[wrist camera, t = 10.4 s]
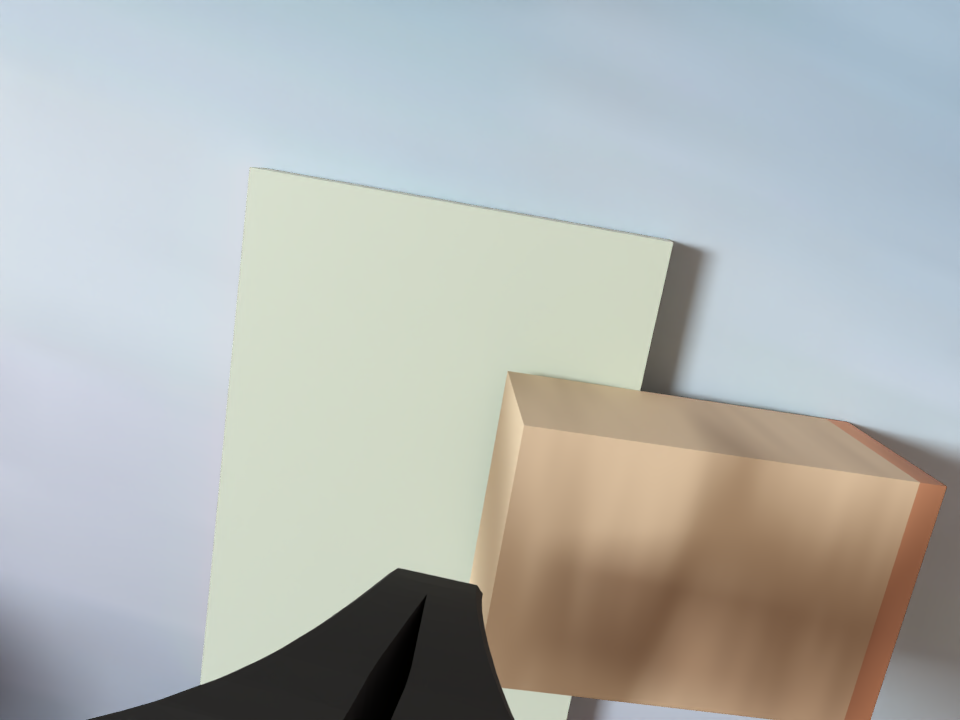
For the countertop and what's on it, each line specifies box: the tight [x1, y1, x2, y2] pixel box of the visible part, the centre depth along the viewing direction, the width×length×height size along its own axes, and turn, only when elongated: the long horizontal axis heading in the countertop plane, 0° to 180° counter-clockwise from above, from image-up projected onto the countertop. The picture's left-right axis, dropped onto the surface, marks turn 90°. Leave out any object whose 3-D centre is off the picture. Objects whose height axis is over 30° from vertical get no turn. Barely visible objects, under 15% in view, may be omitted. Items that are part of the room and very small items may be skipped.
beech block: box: [469, 371, 947, 720], centre depth 16 cm, size 5×4×8 cm
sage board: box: [200, 167, 673, 720], centre depth 18 cm, size 13×9×1 cm
